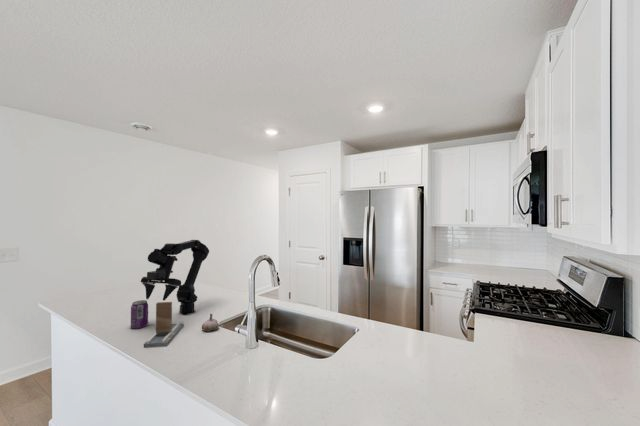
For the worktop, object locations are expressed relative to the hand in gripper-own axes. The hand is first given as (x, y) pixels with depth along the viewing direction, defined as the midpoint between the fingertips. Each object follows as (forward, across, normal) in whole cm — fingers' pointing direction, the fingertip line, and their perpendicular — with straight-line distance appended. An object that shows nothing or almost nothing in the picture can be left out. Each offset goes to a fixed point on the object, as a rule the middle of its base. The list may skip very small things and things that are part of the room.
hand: (155, 299), depth 130 cm
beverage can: (+13, -10, +7) cm, 18 cm away
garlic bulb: (+11, +26, +11) cm, 30 cm away
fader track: (+15, +10, +1) cm, 18 cm away
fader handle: (+14, +11, -1) cm, 18 cm away
